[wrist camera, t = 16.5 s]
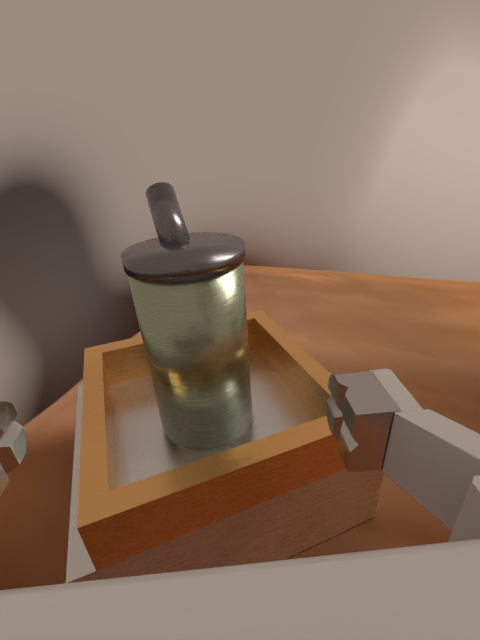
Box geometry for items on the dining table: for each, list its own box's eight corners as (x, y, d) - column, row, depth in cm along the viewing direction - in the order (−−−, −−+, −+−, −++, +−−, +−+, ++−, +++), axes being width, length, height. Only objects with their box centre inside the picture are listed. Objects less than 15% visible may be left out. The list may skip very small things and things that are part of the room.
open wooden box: (259, 369, 31) (257, 292, 27) (374, 517, 18) (396, 411, 15) (96, 414, 27) (69, 330, 23) (100, 647, 14) (42, 541, 11)
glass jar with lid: (224, 362, 23) (206, 176, 18) (270, 430, 17) (263, 186, 12) (148, 383, 22) (102, 186, 16) (171, 466, 16) (111, 203, 10)
